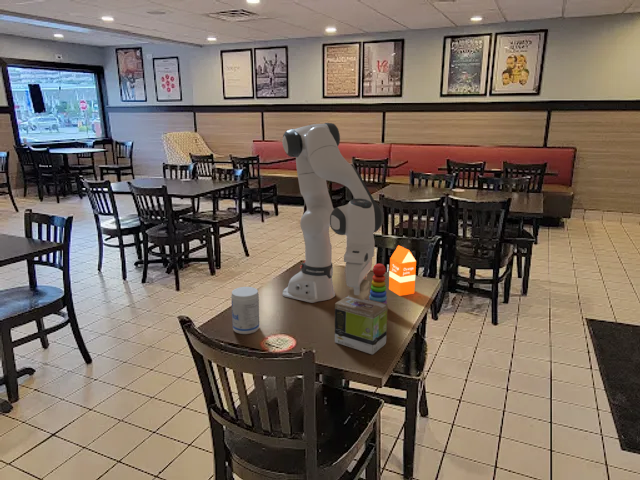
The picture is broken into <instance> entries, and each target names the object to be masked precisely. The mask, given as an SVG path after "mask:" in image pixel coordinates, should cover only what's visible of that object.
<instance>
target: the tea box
mask: <svg viewBox="0 0 640 480" xmlns="http://www.w3.org/2000/svg"><path fill="white" fill-rule="evenodd" d="M369 299H370V298H365V299H364V300H360V299H356V298H352V297H349V295H347V296H345V297H344V298H341V299H340V300H338V301H336V302H335V303H334V343H336V344H338V345H343V346H346V347H347V348H348V347H349V348H351V349H354V350H357V351H361V352H363V353H366V354H369V355H372V356H373V355H374V354H375V353H377V352H379V350H380V349H381V348H383V347H384V346H385V345H386V343H387V333H388V332H387V329H388V308H387V306H388V303H387V304H386V303H382V302H377V301H373V300H369Z"/></svg>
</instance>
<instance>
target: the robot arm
mask: <svg viewBox="0 0 640 480" xmlns="http://www.w3.org/2000/svg"><path fill="white" fill-rule="evenodd" d="M281 142H282V148H283V150H284V152H285V154H286V155H287V156H288V157H290V158H295V163H296V164H295V165H296V174H297V179H298V186H299V191H300V195H301V196H302V198H303V200H304V203H305V206H306V210H305V212H304V213H303V214H302V216H301V219H300V224H299V226H300V228H301V231H302V236H303V241H304V251H305V252H304V253H305V257H304V258H305V260H303V262H302V263H301V265H299V270H300V271H299V272H298V273H296V274H294V275H293V276H292V277H291V278H290V279H289V281H288V284H287V285H288V286H286V287H285V288H284V289H283V291H282V296H283V297H285V298H290V299H293V300H299V301H302V302H307V303H312V304H313V303H314V304H315V303H317V302H322V301H327V300H331V299H333V298H334V297H335V296H336V292H335V289H334V288H335V287H334V284H333V273H334V269H333V268H334V267H333V262H332V258H333V257H332V252H333V251H332V249H333V248H332V242H331V238H330V228H331V230H332V231H333V232H334V233H335V234H337V235H341V236H346V237H347V238H346V248H345V249H346V250H345V253H344V255H343V262H344V263H345V267H344V269H345V270H344V271H345V272H344V273H345V283H346V286H347V287H348V288H349V287H353V288H354V295H359V294H360V284H361V282H362V281H363V279H364V280H367V277H368V274H369V273H370V272H371V270H372V269H373V258H374V256H375V244H376V243H375V238H374V236H375V235H374V234H375V233H376V232H378V231H379V230H380V229H381V227H382V226H383V223H384V221H385V216H384V212H383V210H382V208H381V206H380V205H379V204H378V203H377V202H376V201H375V199H374V198H373V196H372V194H371V192H370V190H369V189H368V187H367V185H366V184H365V182H364V180H363V178H362V176H361V175H360V172H359V171H358V170H357V168H356V167H355V166H353V165H352V164H351V163H350V162H348V161H347V160H346V158H345V157H344V156H343V155H342V153H341V151H340V149H339V145H340V142H341V135H340V131H339V128H338V126H337V125H336V124H335V123H332V122H325V123H313V124H309V125H304V126H301V127H296V128H290V129H288V130H286V131H284V133H283V135H282V141H281ZM327 181H329V182H333V183H336V184H337V183H338V184H340V185H342V186H345V187H346V188H347V189H349V191H350V192H351V194H352V196H353V199H351V200H349V202H348V203H346V204H345V205H341V206H337V207H334V206H333V202H332V199H331V196H330V193H329V189H328V184H327V183H328V182H327Z"/></svg>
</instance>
